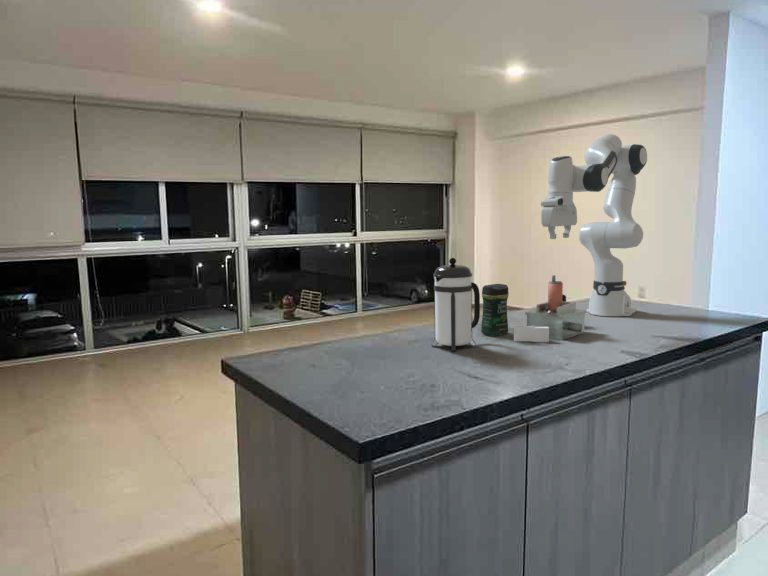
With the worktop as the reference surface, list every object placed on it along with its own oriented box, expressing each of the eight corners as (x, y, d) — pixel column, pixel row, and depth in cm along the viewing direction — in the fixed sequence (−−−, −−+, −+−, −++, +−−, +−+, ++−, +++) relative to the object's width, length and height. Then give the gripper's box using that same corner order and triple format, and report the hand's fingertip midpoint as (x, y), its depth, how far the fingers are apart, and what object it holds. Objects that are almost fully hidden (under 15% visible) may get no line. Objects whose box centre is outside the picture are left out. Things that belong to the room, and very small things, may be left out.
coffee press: (478, 352, 175) (478, 259, 170) (428, 351, 178) (427, 260, 174) (479, 340, 191) (479, 255, 187) (434, 339, 195) (433, 255, 191)
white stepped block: (504, 342, 189) (504, 326, 189) (521, 336, 197) (522, 321, 196) (543, 349, 179) (544, 332, 178) (560, 342, 187) (560, 326, 186)
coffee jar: (493, 337, 194) (493, 286, 192) (477, 334, 201) (477, 284, 198) (512, 333, 200) (512, 283, 197) (496, 330, 206) (496, 281, 204)
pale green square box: (549, 326, 210) (549, 299, 208) (595, 333, 197) (596, 304, 195) (525, 334, 198) (525, 305, 197) (572, 341, 185) (573, 311, 184)
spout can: (552, 308, 203) (552, 274, 201) (564, 309, 199) (565, 274, 197) (545, 310, 199) (545, 275, 198) (557, 311, 196) (558, 276, 194)
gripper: (566, 201, 211) (565, 236, 212) (538, 201, 197) (537, 239, 199) (581, 200, 206) (581, 237, 208) (554, 200, 192) (553, 240, 194)
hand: (559, 238), depth 203 cm, fingers open, 8 cm apart
